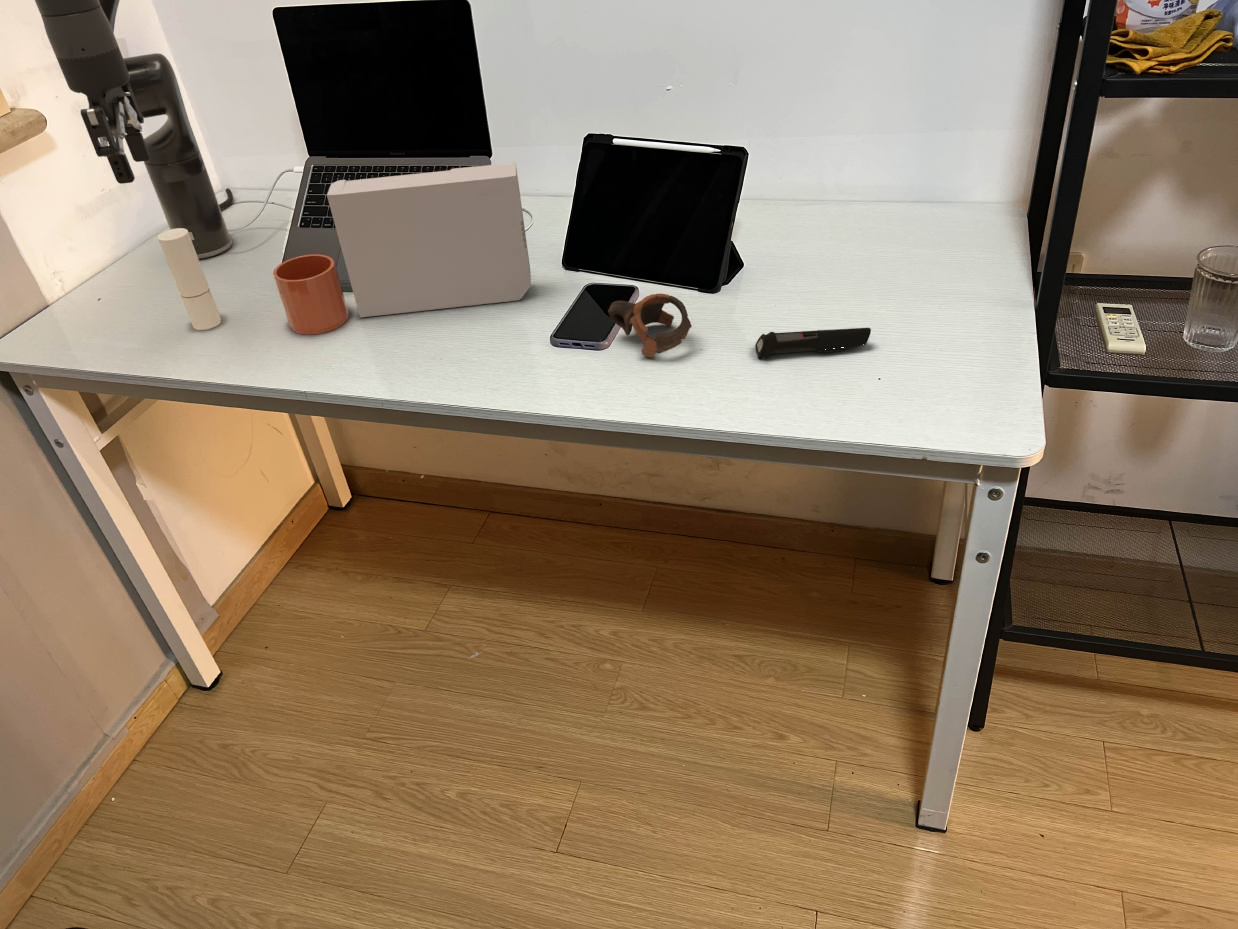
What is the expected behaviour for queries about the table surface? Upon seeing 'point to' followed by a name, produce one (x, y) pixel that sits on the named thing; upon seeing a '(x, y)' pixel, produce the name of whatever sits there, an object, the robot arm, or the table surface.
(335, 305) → the pen cup
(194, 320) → the tube
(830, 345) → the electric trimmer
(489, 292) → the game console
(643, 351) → the brown ring bracket
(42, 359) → the table surface
